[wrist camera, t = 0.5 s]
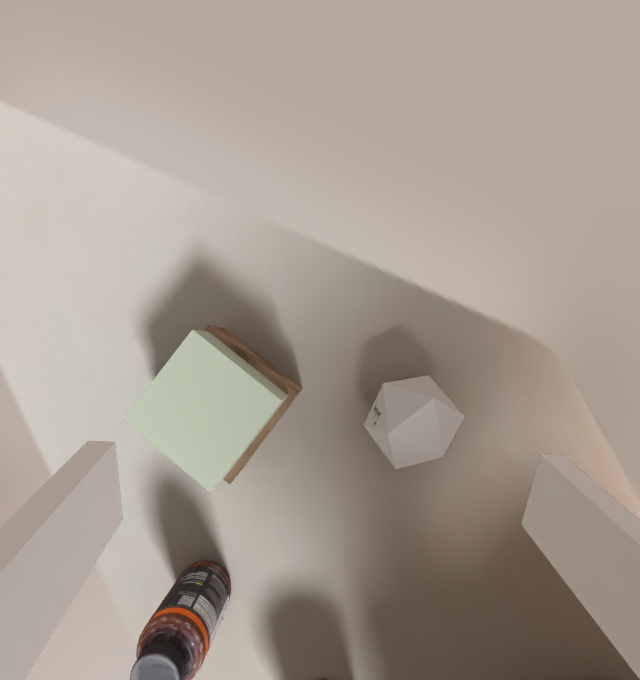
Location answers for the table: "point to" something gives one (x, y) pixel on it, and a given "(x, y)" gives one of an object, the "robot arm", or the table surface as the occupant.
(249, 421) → the sage block
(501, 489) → the table surface
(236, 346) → the walnut slab
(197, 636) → the supplement bottle
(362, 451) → the table surface
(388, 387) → the die
